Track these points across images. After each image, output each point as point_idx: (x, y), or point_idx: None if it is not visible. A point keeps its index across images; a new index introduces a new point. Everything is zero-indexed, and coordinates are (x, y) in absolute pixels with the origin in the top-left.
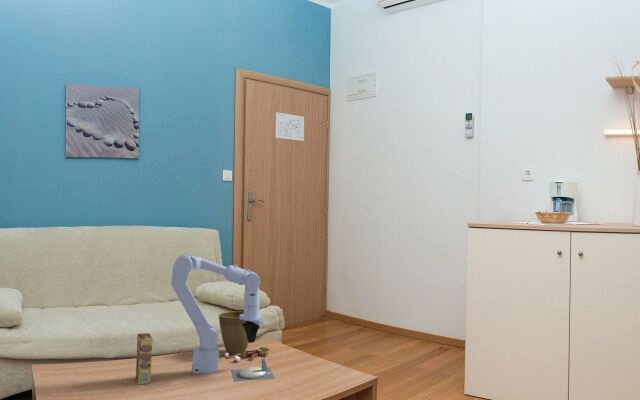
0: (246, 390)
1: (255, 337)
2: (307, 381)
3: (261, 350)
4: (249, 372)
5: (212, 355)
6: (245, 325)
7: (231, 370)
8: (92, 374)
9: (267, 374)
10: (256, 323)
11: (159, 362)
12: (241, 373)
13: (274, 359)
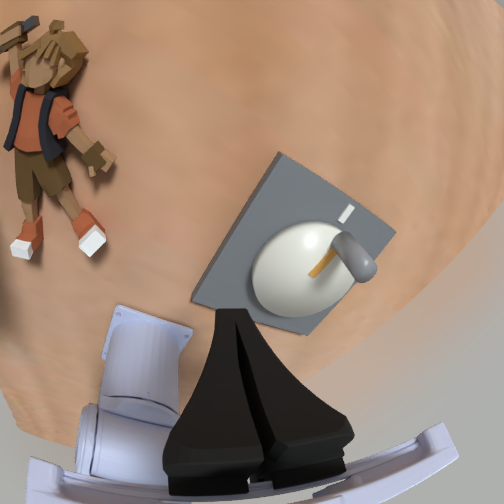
0: (363, 320)
1: (259, 333)
2: (460, 150)
3: (48, 69)
4: (313, 295)
5: (178, 399)
6: (250, 476)
7: (199, 303)
8: (73, 430)
9: (348, 225)
10: (368, 466)
11: (17, 365)
12: (295, 316)
13: (137, 19)
